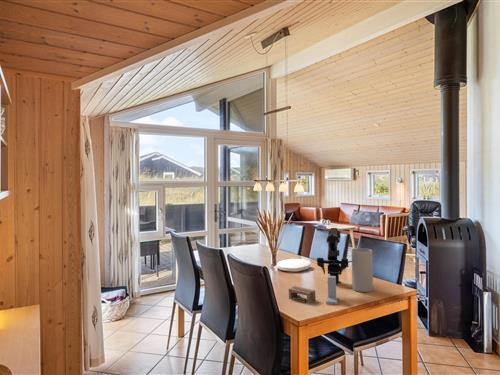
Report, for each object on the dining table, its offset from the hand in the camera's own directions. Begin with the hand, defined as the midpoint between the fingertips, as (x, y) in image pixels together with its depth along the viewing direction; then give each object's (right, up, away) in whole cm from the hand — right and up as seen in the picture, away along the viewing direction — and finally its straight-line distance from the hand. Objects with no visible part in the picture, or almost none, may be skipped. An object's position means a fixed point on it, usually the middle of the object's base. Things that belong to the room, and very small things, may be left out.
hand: (332, 274), depth 203 cm
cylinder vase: (+22, -12, +10) cm, 27 cm away
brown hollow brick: (-19, -13, -4) cm, 23 cm away
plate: (-15, -13, +66) cm, 69 cm away
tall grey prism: (-3, -13, -10) cm, 16 cm away
